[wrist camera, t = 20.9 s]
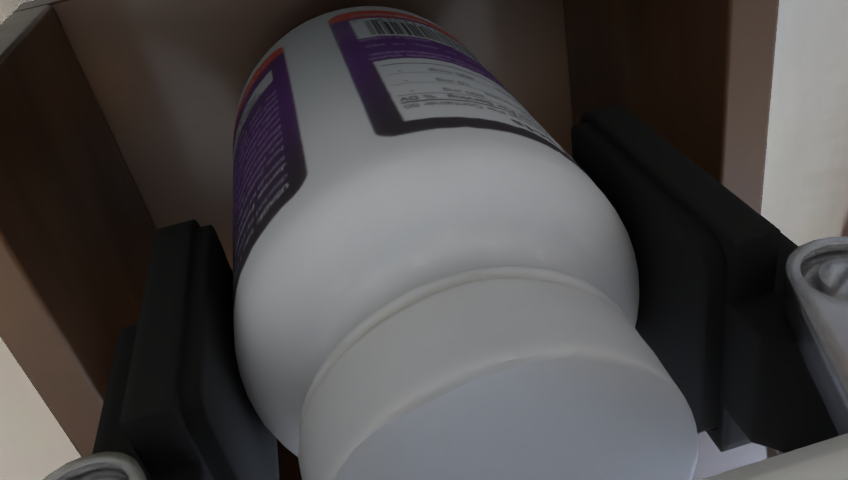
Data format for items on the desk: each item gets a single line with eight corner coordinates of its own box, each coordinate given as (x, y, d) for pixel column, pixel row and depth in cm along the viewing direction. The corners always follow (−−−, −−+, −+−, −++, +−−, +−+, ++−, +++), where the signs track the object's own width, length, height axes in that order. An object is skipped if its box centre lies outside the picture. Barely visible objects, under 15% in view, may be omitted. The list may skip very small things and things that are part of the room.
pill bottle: (325, 281, 17) (406, 728, 9) (176, 94, 14) (88, 505, 6) (528, 163, 16) (811, 518, 8) (418, -56, 13) (691, 161, 5)
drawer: (-295, -547, 10) (-1167, -1120, 4) (574, -695, 12) (1003, -1325, 5) (196, 409, 21) (178, 674, 15) (618, 285, 23) (773, 480, 16)
